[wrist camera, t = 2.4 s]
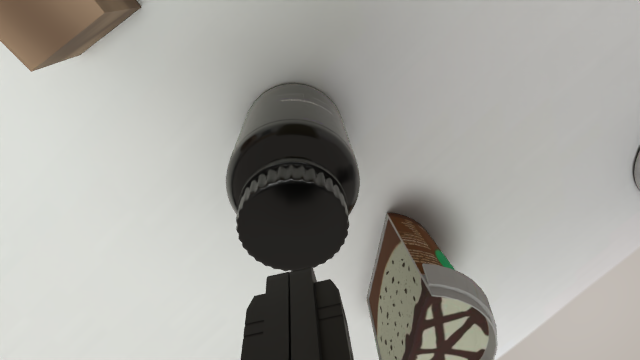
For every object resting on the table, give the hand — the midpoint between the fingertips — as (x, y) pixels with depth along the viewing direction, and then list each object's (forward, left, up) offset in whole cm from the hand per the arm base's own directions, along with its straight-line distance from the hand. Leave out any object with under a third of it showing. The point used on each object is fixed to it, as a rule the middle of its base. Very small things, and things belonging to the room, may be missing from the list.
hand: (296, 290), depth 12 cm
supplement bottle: (0, 0, -16) cm, 16 cm away
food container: (-7, +14, -16) cm, 22 cm away
